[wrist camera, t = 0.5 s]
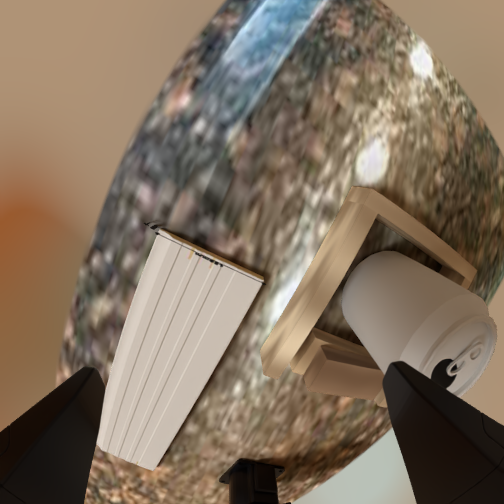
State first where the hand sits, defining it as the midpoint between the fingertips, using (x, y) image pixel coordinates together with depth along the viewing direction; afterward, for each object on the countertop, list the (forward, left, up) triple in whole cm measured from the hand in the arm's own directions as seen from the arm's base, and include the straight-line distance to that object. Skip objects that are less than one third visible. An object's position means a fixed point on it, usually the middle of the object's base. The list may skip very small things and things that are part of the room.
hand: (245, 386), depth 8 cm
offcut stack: (-5, -12, -14) cm, 19 cm away
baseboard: (-16, +3, -15) cm, 22 cm away
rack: (0, -12, -14) cm, 19 cm away
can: (+2, -12, -15) cm, 19 cm away
